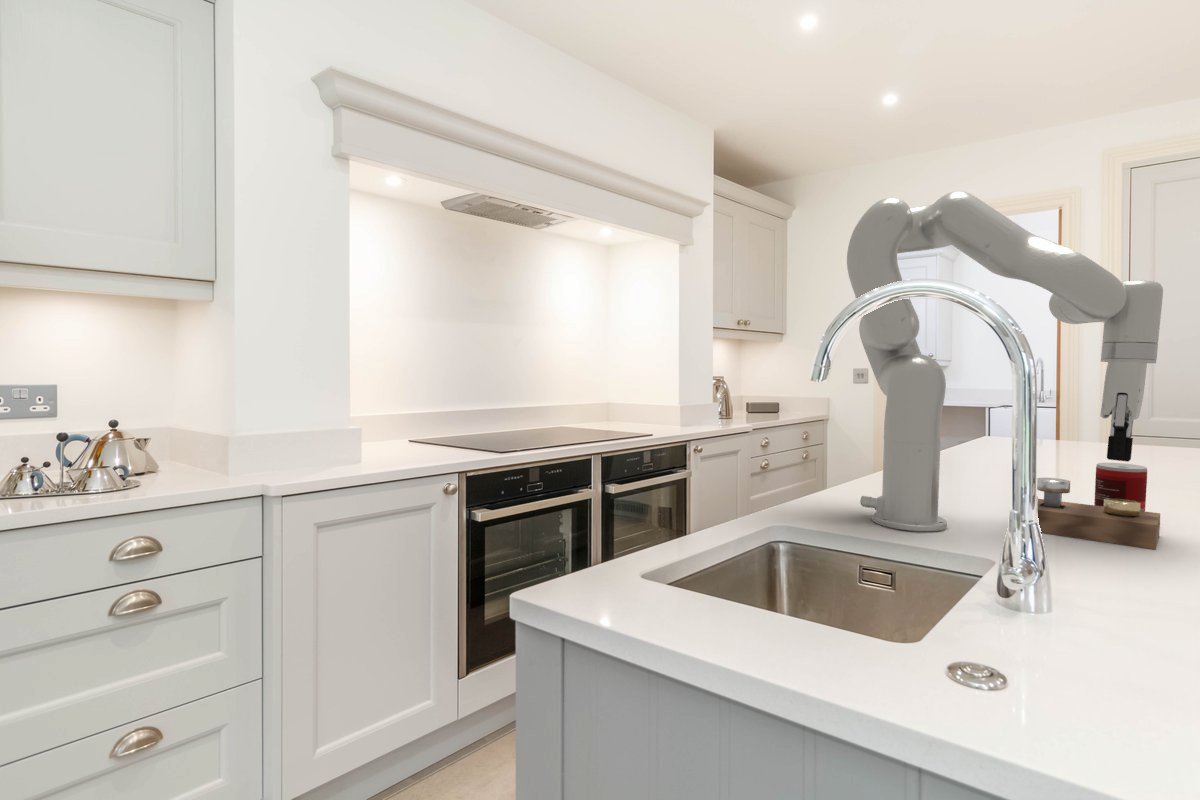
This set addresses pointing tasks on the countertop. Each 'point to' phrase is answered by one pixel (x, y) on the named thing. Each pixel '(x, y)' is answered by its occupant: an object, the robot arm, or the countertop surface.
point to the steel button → (1053, 490)
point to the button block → (1099, 524)
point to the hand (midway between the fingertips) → (1118, 459)
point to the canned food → (1120, 483)
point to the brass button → (1121, 507)
